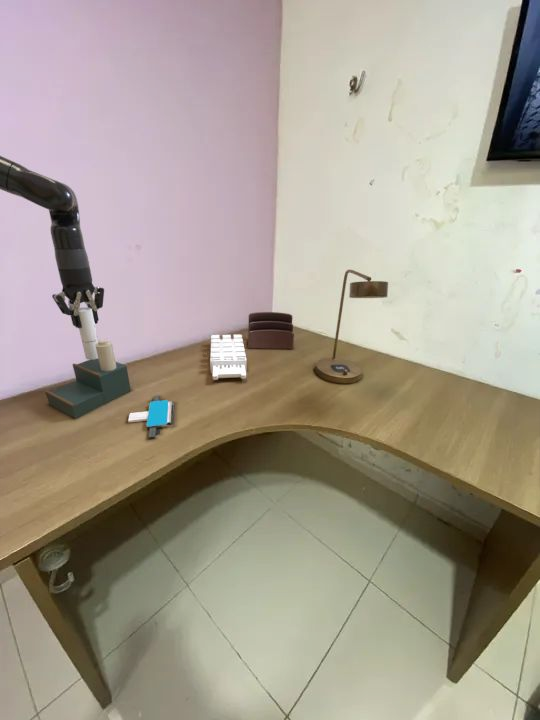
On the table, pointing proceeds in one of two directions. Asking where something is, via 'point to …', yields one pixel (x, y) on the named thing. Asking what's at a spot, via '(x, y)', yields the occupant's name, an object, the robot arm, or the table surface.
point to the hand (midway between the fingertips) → (86, 325)
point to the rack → (89, 388)
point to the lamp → (334, 366)
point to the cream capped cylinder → (105, 355)
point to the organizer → (228, 357)
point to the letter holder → (270, 330)
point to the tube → (88, 332)
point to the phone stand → (156, 416)
